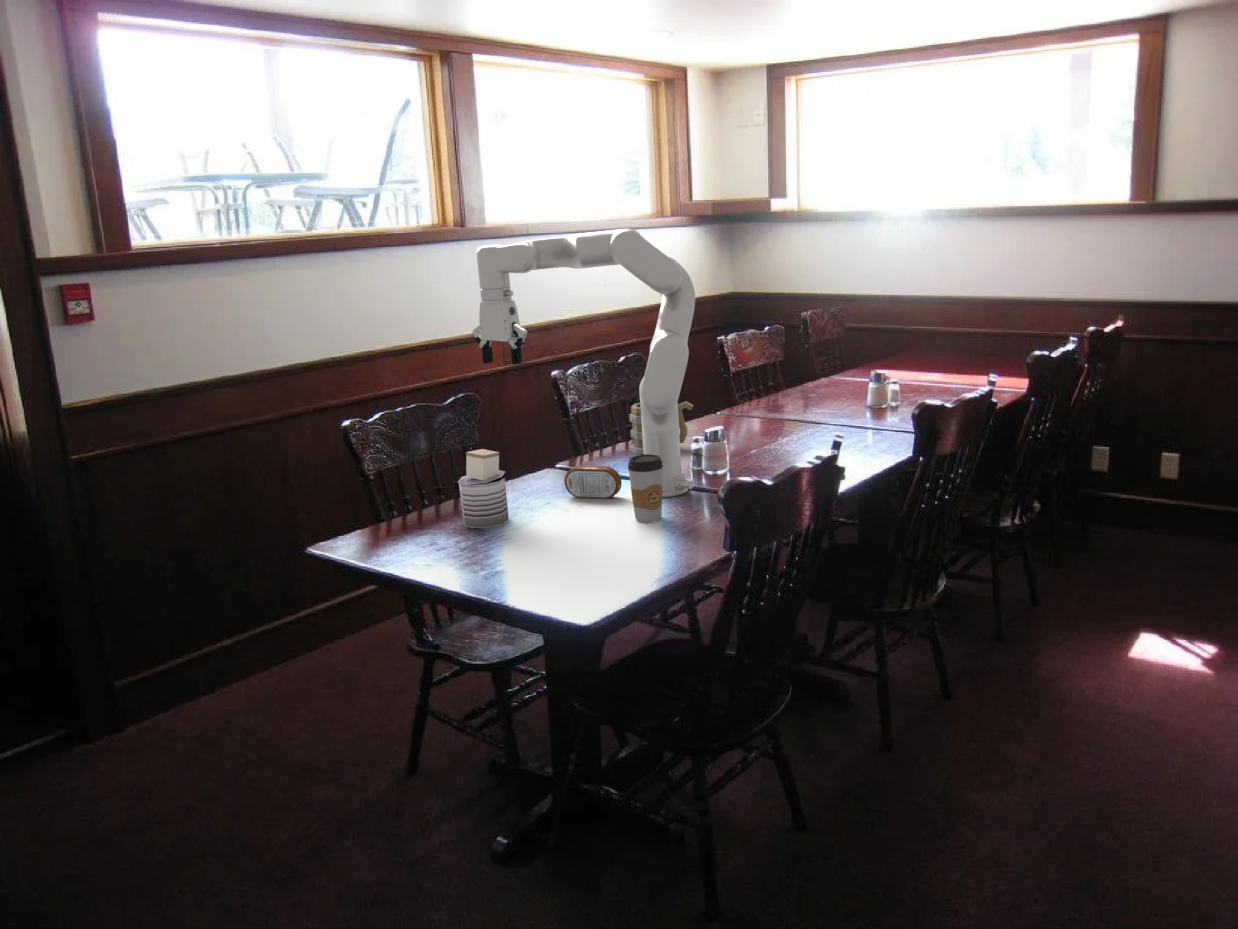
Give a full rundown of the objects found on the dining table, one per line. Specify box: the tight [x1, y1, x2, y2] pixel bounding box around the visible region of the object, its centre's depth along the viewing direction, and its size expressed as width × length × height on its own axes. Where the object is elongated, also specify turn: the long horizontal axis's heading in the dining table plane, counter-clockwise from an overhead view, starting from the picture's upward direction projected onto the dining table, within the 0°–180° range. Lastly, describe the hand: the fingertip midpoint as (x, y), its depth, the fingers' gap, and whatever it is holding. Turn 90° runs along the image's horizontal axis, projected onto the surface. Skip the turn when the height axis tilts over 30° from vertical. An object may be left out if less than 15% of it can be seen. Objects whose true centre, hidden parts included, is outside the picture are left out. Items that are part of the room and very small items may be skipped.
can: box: [457, 469, 510, 529], centre depth 260 cm, size 11×11×12 cm
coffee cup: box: [627, 454, 663, 523], centre depth 253 cm, size 8×8×15 cm
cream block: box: [465, 448, 500, 481], centre depth 258 cm, size 6×6×6 cm
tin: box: [564, 464, 623, 500], centre depth 275 cm, size 15×3×8 cm, turn 71°
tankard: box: [628, 400, 694, 455], centre depth 321 cm, size 20×13×15 cm, turn 68°
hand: (502, 363), depth 270 cm, fingers open, 9 cm apart
